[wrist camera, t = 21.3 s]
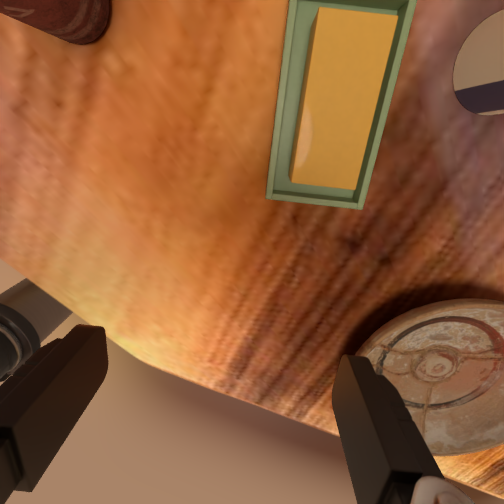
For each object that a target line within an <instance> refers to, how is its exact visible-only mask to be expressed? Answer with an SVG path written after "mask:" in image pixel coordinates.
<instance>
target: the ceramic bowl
mask: <svg viewBox="0 0 504 504" xmlns="http://www.w3.org/2000/svg"><path fill="white" fill-rule="evenodd" d="M355 356H364V357H367V358H369V360H370V362H371V364H372V366H373V368H374V370H375V372H376V374H377V375H384V376H385V377H386V378H387V379H388V380H389V381H390V382H391V383H392V384H393V385H394V386H395V387H396V388H397V390H398V392H399V394H400V395H401V397H402V399H403V401H404V403H405V407H406V408H407V409H408V411H409V412H410V414H411V416H412V420H413V421H414V422H415V424H416V426H417V427H418V429H419V431H420V433H421V435H422V437H423V439H424V441H425V443H426V444H427V446H428V448H429V450H430V452H431V454H432V456H457V455H464V454H470V453H475V452H479V451H484V450H487V449H491V448H494V447H497V446H499V445H502V444H504V302H503V301H497V300H492V299H478V298H468V299H452V300H446V301H440V302H435V303H431V304H428V305H424V306H421V307H418V308H415V309H412V310H410V311H407V312H405V313H403V314H401V315H399V316H397V317H396V318H394V319H392V320H390V321H389V322H387V323H386V324H384V325H383V326H381V327H380V328H379V329H378V330H377V331H375V332H374V333H373V334H372V335H371V336H370V337H369V338H368V339H367V340H366V341H365V342H364V344H363V345H362V346H361V347H360V348H359V350H358V351H357V352H356V354H355Z"/></svg>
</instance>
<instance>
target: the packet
mask: <svg viewBox="0 0 504 504" xmlns="http://www.w3.org/2000/svg"><path fill="white" fill-rule="evenodd" d="M397 21H398V16H397V15H388V14H379V13H371V12H362V11H353V10H344V9H336V8H327V7H319V8H318V11H317V13H316V16H315V18H314V20H313V23H312V25H311V30H310V36H309V43H308V49H307V56H306V62H305V69H304V75H303V82H302V89H301V95H300V102H299V108H298V115H297V121H296V128H295V134H294V141H293V147H292V154H291V160H290V167H289V174H288V176H289V178H290V181H291V183H298V184H307V185H315V186H324V187H332V188H341V189H349V190H355V189H356V185H357V181H358V177H359V173H360V169H361V165H362V161H363V157H364V153H365V149H366V145H367V141H368V137H369V133H370V129H371V125H372V121H373V117H374V113H375V109H376V105H377V101H378V97H379V93H380V89H381V85H382V81H383V77H384V73H385V69H386V65H387V61H388V57H389V53H390V49H391V45H392V41H393V37H394V33H395V29H396V25H397Z"/></svg>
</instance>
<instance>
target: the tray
mask: <svg viewBox="0 0 504 504" xmlns="http://www.w3.org/2000/svg"><path fill="white" fill-rule="evenodd" d="M416 3H417V0H289V4H288V13H287V21H286V29H285V37H284V46H283V54H282V62H281V70H280V79H279V87H278V95H277V103H276V112H275V120H274V128H273V136H272V145H271V153H270V161H269V169H268V178H267V186H266V197H265V198H266V199H272V200H280V201H288V202H297V203H306V204H315V205H324V206H333V207H342V208H350V209H359V210H362V209H363V206H364V202H365V198H366V194H367V191H368V187H369V183H370V179H371V175H372V171H373V168H374V164H375V160H376V156H377V152H378V148H379V145H380V141H381V137H382V133H383V129H384V126H385V122H386V118H387V114H388V110H389V106H390V103H391V99H392V95H393V91H394V87H395V83H396V80H397V76H398V72H399V68H400V64H401V60H402V57H403V53H404V49H405V45H406V41H407V37H408V34H409V30H410V26H411V22H412V18H413V14H414V11H415V7H416ZM319 7H327V8H336V9H344V10H353V11H362V12H371V13H379V14H388V15H397V16H398V21H397V25H396V29H395V33H394V37H393V41H392V45H391V49H390V53H389V57H388V61H387V65H386V69H385V73H384V77H383V81H382V85H381V89H380V93H379V97H378V101H377V105H376V109H375V113H374V117H373V121H372V125H371V129H370V133H369V137H368V141H367V145H366V149H365V153H364V157H363V161H362V165H361V169H360V173H359V177H358V181H357V185H356V189H355V190H349V189H341V188H332V187H324V186H315V185H307V184H298V183H291V181H290V178H289V176H288V174H289V167H290V160H291V154H292V147H293V141H294V134H295V128H296V121H297V115H298V108H299V102H300V95H301V89H302V82H303V75H304V69H305V62H306V56H307V49H308V43H309V36H310V30H311V25H312V23H313V20H314V18H315V16H316V13H317V11H318V8H319Z"/></svg>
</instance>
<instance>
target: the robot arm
mask: <svg viewBox="0 0 504 504" xmlns="http://www.w3.org/2000/svg"><path fill="white" fill-rule="evenodd" d="M22 356H23V350H22V346H21V344H20V342H19V340H18V339H17V337H16V336H15V335H14V334H13V333H12V332H11V331H10V330H9V329H8V328H7V327H5V326H4V325H2V324H1V323H0V382H2V381H5V380H6V379H7V378H8V377H9V376H10V375H11V374H9V375H6V374H7V373H8V372H9V371H11V370H13V369H14V368H15V367H16V366H17V365H18V364H19V363H20V362H21V360H22ZM107 370H108V355H107V344H106V334H105V329H104V328H103V327H101V326H92V325H82V324H79V325H76V326H75V327H74V328H73V329H72V330H71V331H70V332H69V333H68V334H67V335H66V336H65V337H64V338H63V339H60V338H59V339H58V338H57V339H55V340H54V341H52V342H50V343H48V344H47V345H45V346H43V347H41V348H39V349H38V350H37V351H36V352H35V353H34V354H33V355H32V356H31V357H30V358H29V359H28V360H27V361H26V362H25V364H23V365H22V366H20V367H19V368H18V369H17V370H16V371H15V372H14V375H13V376H10V377H9V378H8V379H7V380H6V381H5V382H4V383H3V384H2V385H1V386H0V504H5V502H6V501H7V499H8V498H9V496H10V495H11V493H12V492H13V490H16V491H26V492H32V491H33V489H34V488H35V486H36V484H37V483H38V481H39V480H40V478H41V477H42V475H43V474H44V472H45V471H46V469H47V467H48V466H49V464H50V463H51V461H52V460H53V458H54V457H55V455H56V454H57V452H58V451H59V449H60V447H61V446H62V444H63V443H64V441H65V440H66V438H67V437H68V435H69V433H70V432H71V430H72V429H73V427H74V426H75V424H76V422H77V421H78V419H79V418H80V416H81V415H82V414H83V412H84V410H85V409H86V407H87V406H88V404H89V403H90V401H91V400H92V398H93V397H94V395H95V393H96V392H97V390H98V389H99V387H100V386H101V384H102V383H103V381H104V379H105V376H106V374H107ZM332 406H333V411H334V415H335V418H336V422H337V426H338V430H339V434H340V438H341V442H342V446H343V449H344V453H345V457H346V461H347V465H348V469H349V473H350V477H351V481H352V484H353V488H354V492H355V496H356V500H357V504H475V503H474V502H473V501H472V500H471V499H470V498H469V497H468V496H467V495H466V494H465V493H464V492H463V491H462V490H461V489H460V488H458V487H457V486H455V485H454V484H452V483H451V482H449V481H447V480H445V478H444V476H443V475H442V473H441V471H440V469H439V467H438V465H437V463H436V461H435V460H434V458H433V456H432V454H431V452H430V450H429V448H428V446H427V444H426V443H425V441H424V439H423V437H422V435H421V433H420V431H419V429H418V427H417V426H416V424H415V422H414V421H413V420H412V416H411V414H410V412H409V411H408V409H407V408H406V407H405V403H404V401H403V399H402V397H401V395H400V394H399V392H398V390H397V388H396V387H395V386H394V385H393V384H392V383H391V382H390V381H389V380H388V379H387V378H386V377H385V376H384V375H377V374H376V372H375V370H374V368H373V366H372V364H371V362H370V360H369V358H367V357H364V356H355V355H346V354H344V355H343V356H342V358H341V361H340V364H339V368H338V371H337V375H336V378H335V382H334V385H333V389H332Z"/></svg>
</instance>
